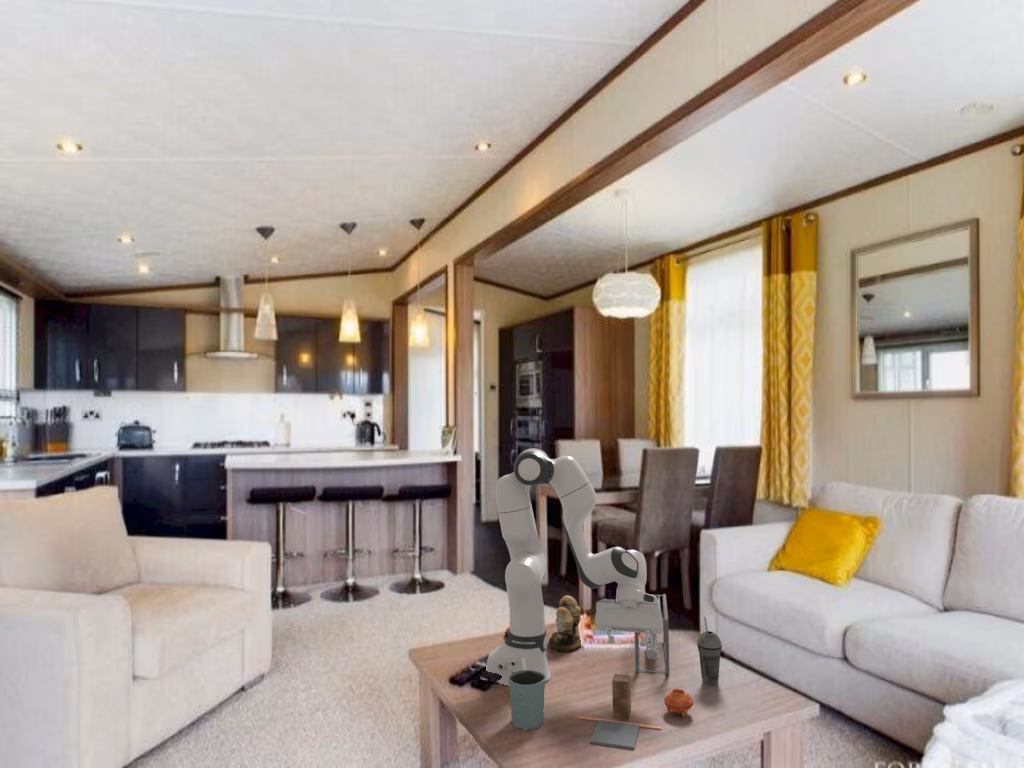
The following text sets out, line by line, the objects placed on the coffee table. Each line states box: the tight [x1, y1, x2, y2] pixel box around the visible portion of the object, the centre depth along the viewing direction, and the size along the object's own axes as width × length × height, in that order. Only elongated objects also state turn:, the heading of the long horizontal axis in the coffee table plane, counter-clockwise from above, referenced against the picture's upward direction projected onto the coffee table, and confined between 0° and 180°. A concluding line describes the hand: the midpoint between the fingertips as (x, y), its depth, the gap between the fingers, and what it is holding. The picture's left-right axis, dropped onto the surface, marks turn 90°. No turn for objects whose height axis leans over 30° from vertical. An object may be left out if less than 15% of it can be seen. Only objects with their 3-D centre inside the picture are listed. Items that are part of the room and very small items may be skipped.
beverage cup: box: [697, 616, 723, 688], centre depth 201 cm, size 7×7×20 cm
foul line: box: [578, 715, 662, 731], centre depth 177 cm, size 22×1×1 cm, turn 72°
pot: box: [663, 688, 695, 719], centre depth 182 cm, size 8×8×7 cm
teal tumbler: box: [508, 670, 546, 730], centre depth 179 cm, size 10×10×12 cm
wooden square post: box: [611, 673, 632, 720], centre depth 182 cm, size 4×4×10 cm
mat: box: [590, 720, 641, 750], centre depth 171 cm, size 11×12×1 cm
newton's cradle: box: [634, 593, 670, 675], centre depth 222 cm, size 30×10×18 cm, turn 168°
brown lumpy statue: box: [548, 595, 582, 653], centre depth 236 cm, size 18×12×17 cm, turn 174°
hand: (627, 644), depth 193 cm, fingers open, 8 cm apart
